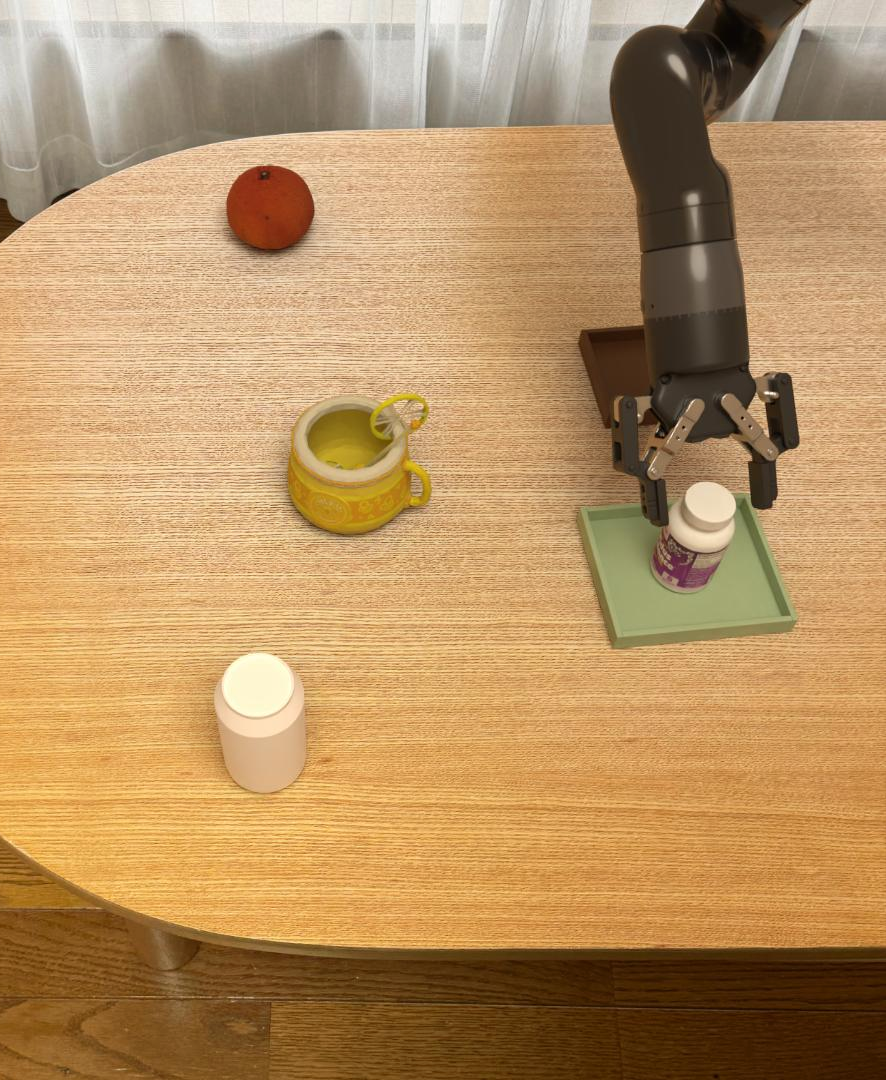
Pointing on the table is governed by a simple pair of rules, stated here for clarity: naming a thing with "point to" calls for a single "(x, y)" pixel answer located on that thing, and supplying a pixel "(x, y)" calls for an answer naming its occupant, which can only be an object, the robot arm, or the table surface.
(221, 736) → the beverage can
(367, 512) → the mug
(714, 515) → the pill bottle
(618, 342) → the walnut tray
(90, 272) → the table surface
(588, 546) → the green tray
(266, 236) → the fruit
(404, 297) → the table surface
